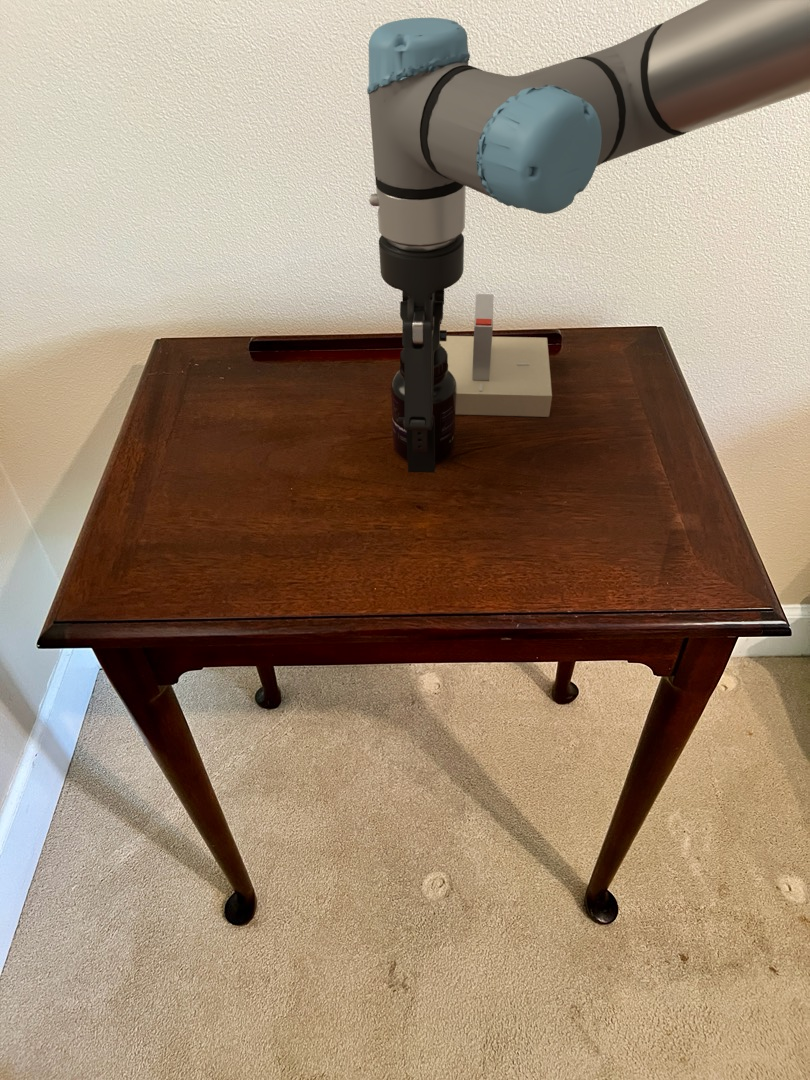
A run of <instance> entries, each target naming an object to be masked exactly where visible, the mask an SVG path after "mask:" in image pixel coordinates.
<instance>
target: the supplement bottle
mask: <svg viewBox="0 0 810 1080" xmlns="http://www.w3.org/2000/svg"><path fill="white" fill-rule="evenodd" d="M456 392H457V386H456V380H455V378H454V376H453V375H452V373H451V372H450V371H449V370H448V354H447V351H446V350H445V349H444V348H443V347H442V346H439V348H438V349H437V350H436V351H435V352H434V376H433V415H434V416H435V464H437V463H439V462H441V461H443V460H445V459H446V458H447V457H449V456H450V454H451V453H452V451H453V449H454V447H455V437H456V415H457V414H456ZM390 399H391V400H390V401H391V403H390V404H391V424H392V428H391V429H392V445H393V449H394V451H395V453H396V454H397V455H398V456H399V457H400V458H401V459H402V460H404V461H406V462H408V459H407V436H406V430H405V429H404V426H403V424H399V423H398V417H405V395H404V347H402V350H401V351H400V353H399V370H398V371H397V372H396V373H395V375H394V376H393V378H392V380H391V384H390Z"/></svg>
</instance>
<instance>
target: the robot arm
mask: <svg viewBox="0 0 810 1080" xmlns="http://www.w3.org/2000/svg"><path fill="white" fill-rule="evenodd" d="M468 44H469V43H468V34H467V31H466V29H465V28H464V27H463V26H462V25H461V24H459V22H457V21H455V20H452V19H447V18H441V17H412V18H403V19H399V20H398V19H397V20H393V21H389V22H386V23H384V24H382V25H380V26H379V27H377V28H376V29H375V30H374V31H373V32H372V33H371V35H370V37H369V41H368V85H367V88H366V92H367V95H368V100H369V101H368V102H369V115H370V127H371V128H370V129H371V142H372V155H373V169H374V176H375V191H376V193H372V194H370V196H369V201H368V203H369V204H370V205H371V206H372V207H378V209H377V224H378V225H377V227H378V232H379V234H380V236H379V239H378V250H379V270H380V276H381V278H382V280H383V281H384V282H385V283H386V284H387V285H388V286H390V287H392V288H393V289H395V290H400V291H401V293H402V294H401V295H402V296H401V297H402V298H401V299H402V300H400V303H399V317H400V319H401V321H402V329H401V330H402V331H401V332H402V335H401V336H402V337H401V345H402V348H404V395H405V417H398V423H399V424H403V426H404V429H405V430H406V436H407V459H408V461H407V473H421V474H422V473H425V474H429V473H430V474H435V473H436V463H435V416H434V415H433V376H434V352H435V351H436V350H437V349H438V348H439V346H441V344H440V341H446V340H447V336H448V335H447V334H448V330H447V329H441V325H442V321H443V320H444V305H445V290H446V289H448V288H450V287H452V286H453V285H455V284H456V283H457V282H459V280H460V279H461V278H462V275H463V274H464V268H465V267H464V266H465V265H464V262H465V261H464V260H465V258H464V257H465V236H464V235H463V232H464V230H465V228H466V196H467V192H466V190H467V189H466V188H469V189H471V190H474V191H476V192H478V193H481V194H483V195H485V196H487V197H490V198H491V199H494V200H496V201H497V202H498V203H500V204H503V205H505V206H507V207H514V208H516V209H524V210H528V211H531V212H534V213H537V214H543V215H549V214H554V213H558V212H560V211H562V210H564V209H566V208H568V207H569V206H570V205H572V204H573V202H574V200H575V197H576V196H577V195H578V194H579V193H582V192H584V190H586V188H587V187H588V185H589V183H590V182H591V180H592V178H593V176H594V174H595V171H596V168H597V167H599V166H600V165H602V164H605V163H607V162H610V161H612V160H615V159H618V158H620V157H623V156H627V155H629V154H631V153H634V152H636V151H639V150H642V149H645V148H648V147H651V146H654V145H657V144H660V143H663V142H666V141H669V140H671V139H674V138H678V137H680V136H684V135H686V134H687V133H690V132H693V131H697V130H699V129H702V128H705V127H708V126H711V125H714V124H717V123H720V122H724V121H726V120H729V119H732V118H735V117H739V116H741V115H744V114H747V113H750V112H753V111H756V110H759V109H762V108H765V107H768V106H771V105H774V104H776V103H780V102H784V101H786V100H788V99H792V98H795V97H798V96H801V95H804V94H806V93H807V94H808V93H810V0H706V1H704V2H702V3H700V4H697V5H695V6H694V7H692V8H691V7H690V9H687V10H685V11H683V12H681V13H680V14H677V15H675V16H673V17H671V18H669V19H667V20H665V21H664V22H662V23H658V24H656V25H654V26H652V27H649V28H648V29H646V30H644V31H642V32H640V33H638V34H636V35H634V36H632V37H630V38H627V39H625V40H624V41H621V42H619V43H617V44H614V45H612V46H609V47H606V48H603V49H601V50H598V51H595V52H592V53H590V54H587V55H584V56H578V57H575V58H571V59H568V60H564V61H562V62H558V63H554V64H552V65H549V66H546V67H545V66H544V67H542V68H539V69H536V70H533V71H530V72H525V73H523V74H518V75H505V74H499V73H495V72H492V71H487V70H482V69H481V68H478V67H476V66H472V65H470V64H469V61H470V58H471V54H470V52H469V45H468Z"/></svg>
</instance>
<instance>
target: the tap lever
mask: <svg viewBox="0 0 810 1080" xmlns="http://www.w3.org/2000/svg"><path fill="white" fill-rule="evenodd" d="M473 322H474V324H473V336H474V344H473V368H472V380H488V381H489V379H490V363H491V347H492V337H493V332H494V331H493V329H494V294H493V293H490V294H489V293H487V294H486V293H476V294H475V305H474V321H473Z"/></svg>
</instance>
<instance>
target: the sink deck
mask: <svg viewBox="0 0 810 1080" xmlns="http://www.w3.org/2000/svg"><path fill="white" fill-rule="evenodd" d="M440 344H441V346H442V347H443V348H444V349H445V350H446V351H447V354H448V370H449V371H450V372H451V373H452V375H453V376H454V378H455V380H456V386H457V392H456V415H466V416H497V417H498V416H501V417H502V416H503V417H536V418H538V417H540V418H549V417H550V414H551V407H552V399H553V392H552V391H553V389H552V377H551V369H550V368H551V366H550V365H551V364H550V356H549V342H548V337H536V336H535V337H531V336H529V337H528V336H492V347H491V363H490V379H489V381H488V380H472V368H473V344H474V335H473V336H472V335H447V340H446V341H440Z"/></svg>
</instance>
